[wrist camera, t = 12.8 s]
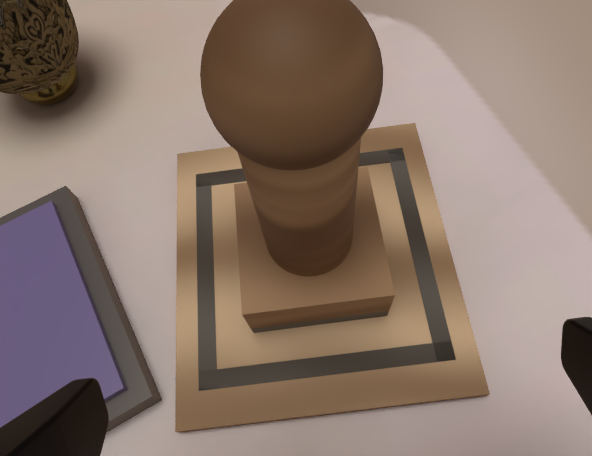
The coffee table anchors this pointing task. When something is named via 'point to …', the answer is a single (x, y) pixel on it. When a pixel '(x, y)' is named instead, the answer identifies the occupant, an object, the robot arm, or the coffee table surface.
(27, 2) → the cup
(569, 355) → the robot arm
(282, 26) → the stamp
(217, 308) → the kraft card
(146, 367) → the ink pad
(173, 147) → the coffee table surface
